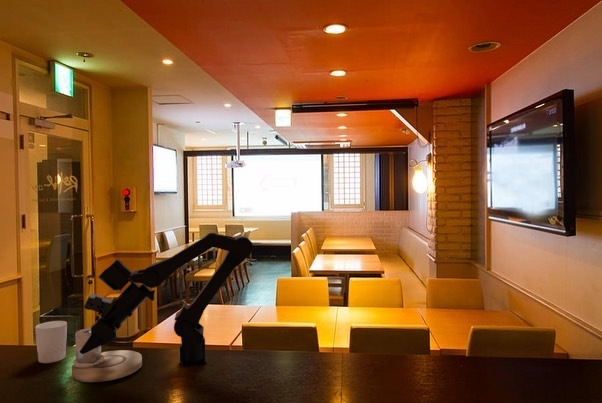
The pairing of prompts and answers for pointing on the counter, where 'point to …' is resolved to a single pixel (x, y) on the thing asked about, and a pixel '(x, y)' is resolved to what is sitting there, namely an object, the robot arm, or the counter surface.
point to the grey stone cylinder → (89, 358)
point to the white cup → (51, 341)
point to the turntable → (110, 367)
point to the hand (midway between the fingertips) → (82, 348)
